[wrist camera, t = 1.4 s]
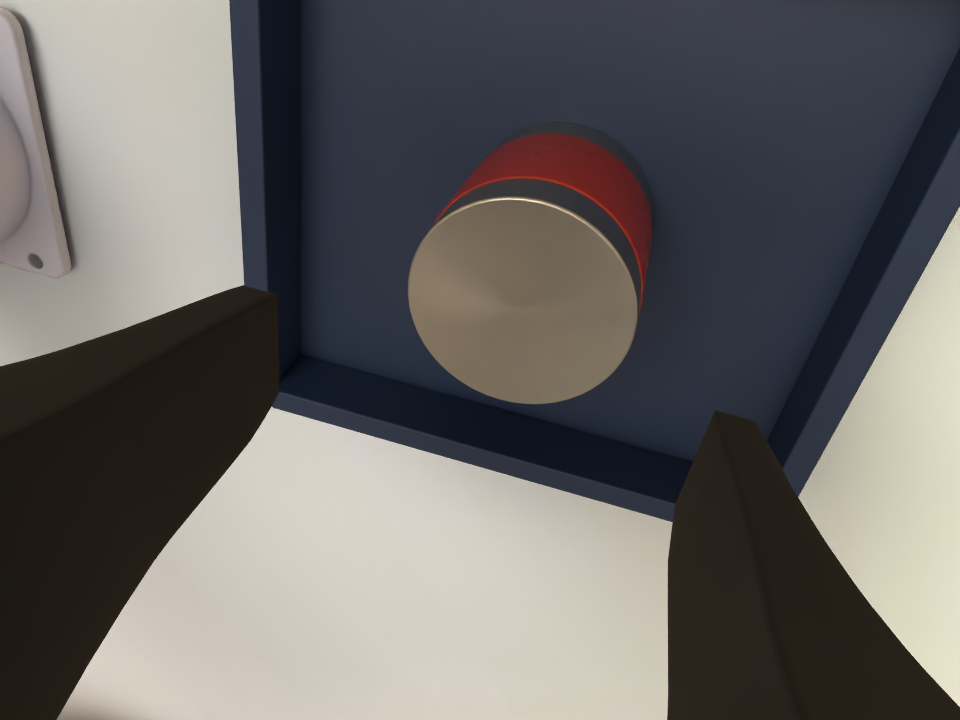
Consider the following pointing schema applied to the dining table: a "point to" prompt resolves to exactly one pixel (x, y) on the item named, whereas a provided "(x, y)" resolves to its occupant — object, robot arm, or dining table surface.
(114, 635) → the dining table surface
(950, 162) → the tray
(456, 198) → the tin can
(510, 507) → the dining table surface
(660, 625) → the dining table surface
